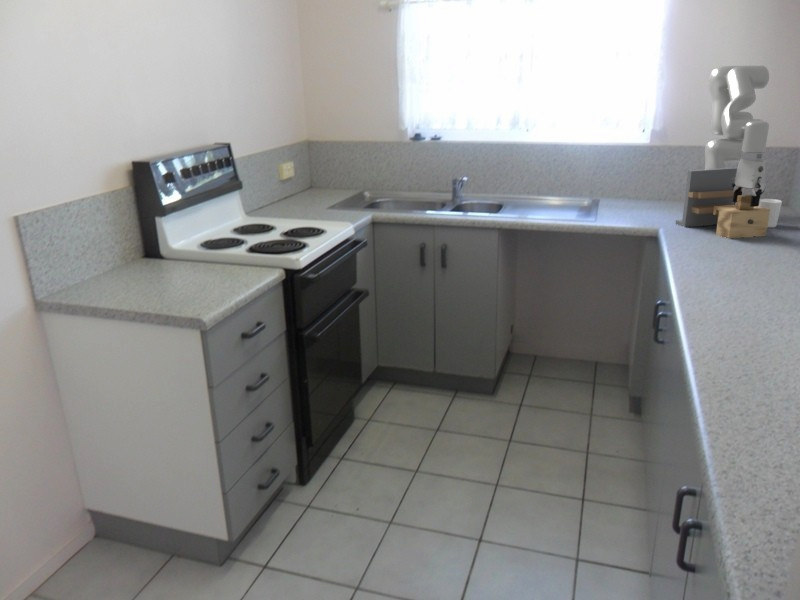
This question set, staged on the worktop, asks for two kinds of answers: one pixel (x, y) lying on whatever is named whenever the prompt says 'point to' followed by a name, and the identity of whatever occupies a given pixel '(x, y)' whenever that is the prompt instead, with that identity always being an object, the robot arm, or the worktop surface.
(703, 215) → the wall board
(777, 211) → the white cup
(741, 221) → the wooden box
